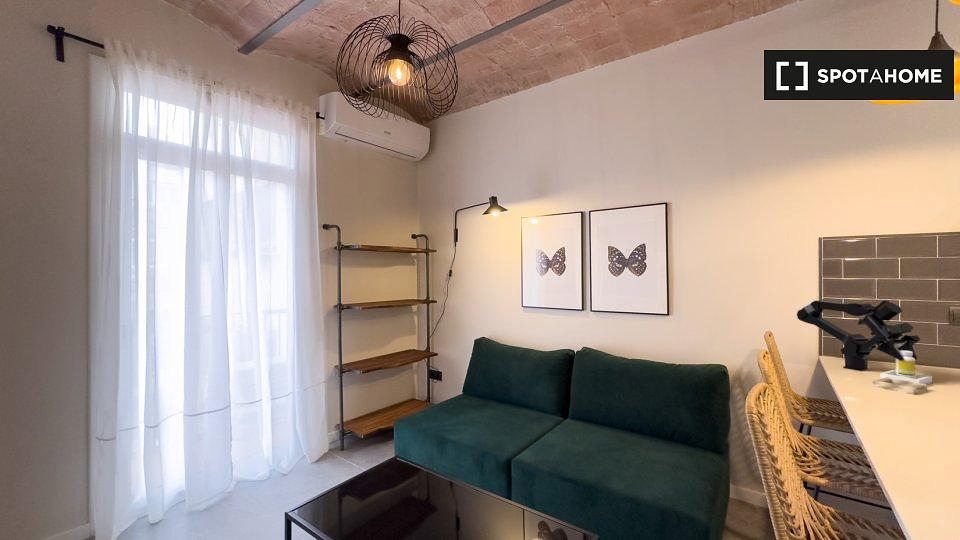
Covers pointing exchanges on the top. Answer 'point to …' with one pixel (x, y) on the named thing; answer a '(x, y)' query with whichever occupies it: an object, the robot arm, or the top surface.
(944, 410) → the top surface
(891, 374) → the plastic tray
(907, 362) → the supplement bottle
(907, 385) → the wooden square frame
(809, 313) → the robot arm
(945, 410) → the top surface
